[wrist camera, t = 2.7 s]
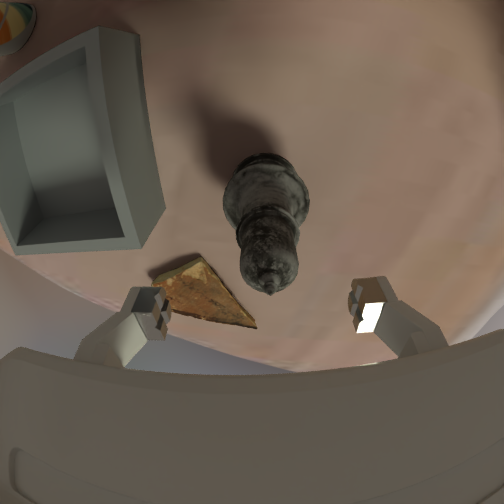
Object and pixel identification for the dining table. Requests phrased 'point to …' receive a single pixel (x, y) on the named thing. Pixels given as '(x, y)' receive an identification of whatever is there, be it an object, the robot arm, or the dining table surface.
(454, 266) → the dining table surface
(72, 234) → the box
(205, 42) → the dining table surface
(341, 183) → the dining table surface
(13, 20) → the lotion bottle
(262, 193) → the stone chess piece
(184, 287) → the shard
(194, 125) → the dining table surface
